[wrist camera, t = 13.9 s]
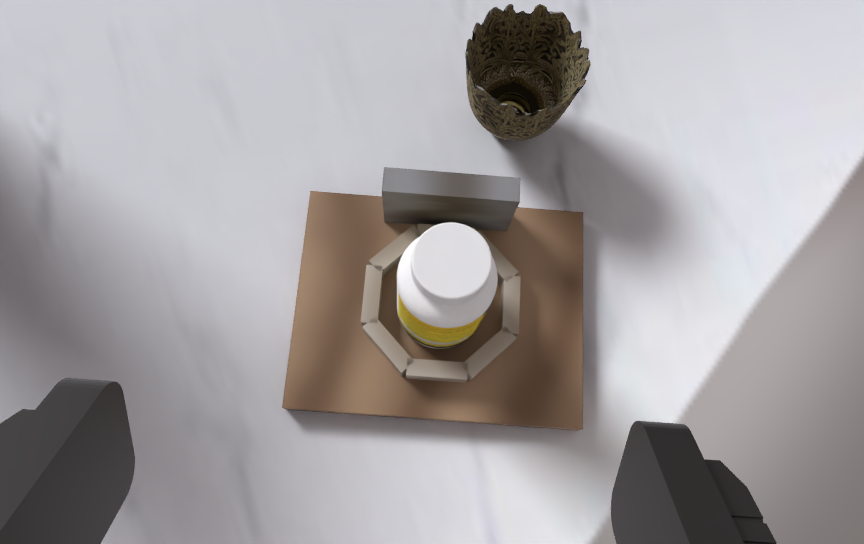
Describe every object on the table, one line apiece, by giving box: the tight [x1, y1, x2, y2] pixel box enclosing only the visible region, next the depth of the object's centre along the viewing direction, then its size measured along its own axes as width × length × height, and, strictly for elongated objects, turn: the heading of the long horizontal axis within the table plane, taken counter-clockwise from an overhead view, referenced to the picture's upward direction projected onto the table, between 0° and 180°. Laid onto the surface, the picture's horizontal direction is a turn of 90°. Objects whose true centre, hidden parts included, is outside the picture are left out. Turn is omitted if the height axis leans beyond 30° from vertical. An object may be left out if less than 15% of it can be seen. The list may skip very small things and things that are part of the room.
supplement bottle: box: [397, 222, 498, 349], centre depth 37 cm, size 5×5×10 cm
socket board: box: [282, 167, 583, 430], centre depth 40 cm, size 18×14×6 cm
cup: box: [465, 4, 590, 141], centre depth 43 cm, size 8×7×8 cm
